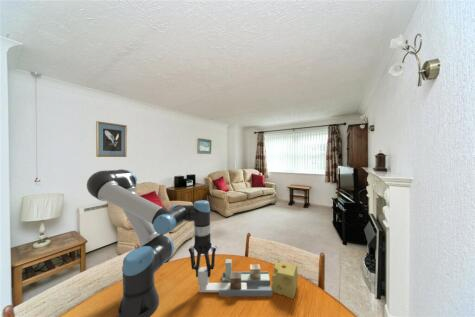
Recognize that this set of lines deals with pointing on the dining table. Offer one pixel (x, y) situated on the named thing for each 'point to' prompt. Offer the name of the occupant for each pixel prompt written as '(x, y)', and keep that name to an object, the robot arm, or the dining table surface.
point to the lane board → (248, 287)
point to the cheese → (285, 279)
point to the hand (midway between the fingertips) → (203, 283)
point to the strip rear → (243, 276)
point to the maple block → (255, 272)
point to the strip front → (213, 286)
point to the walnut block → (235, 281)
